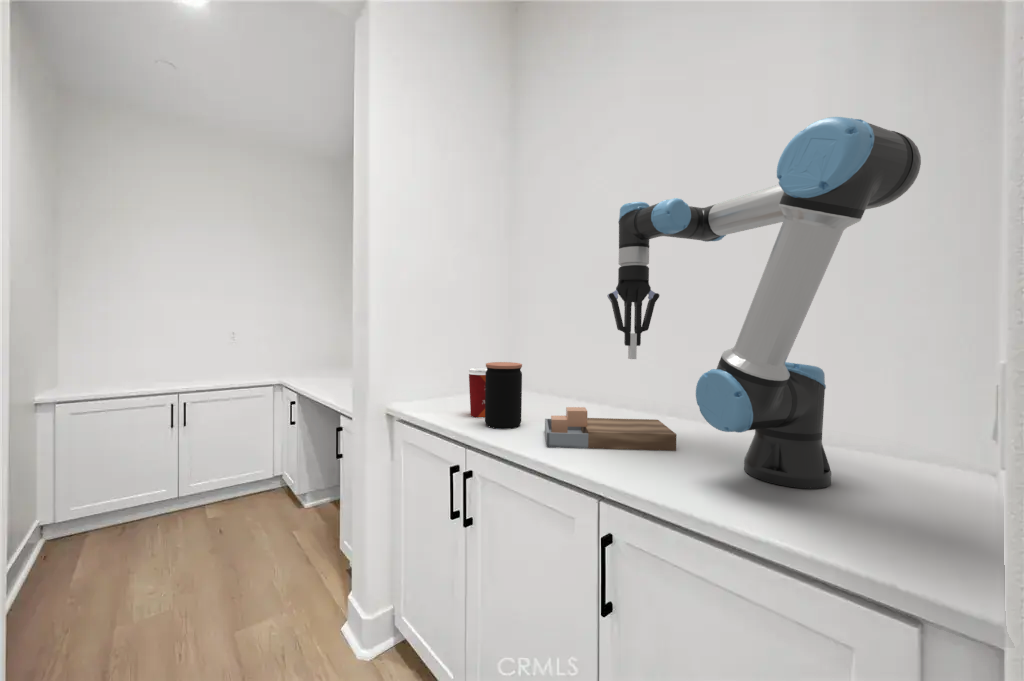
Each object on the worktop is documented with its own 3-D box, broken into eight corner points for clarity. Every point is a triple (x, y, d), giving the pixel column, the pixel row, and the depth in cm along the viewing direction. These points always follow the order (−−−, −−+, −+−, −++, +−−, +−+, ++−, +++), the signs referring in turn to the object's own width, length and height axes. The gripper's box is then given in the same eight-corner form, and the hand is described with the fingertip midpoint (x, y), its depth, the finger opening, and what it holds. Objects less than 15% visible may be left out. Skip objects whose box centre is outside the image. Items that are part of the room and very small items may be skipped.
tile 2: (587, 426, 115) (587, 411, 115) (567, 426, 116) (567, 410, 115) (585, 422, 120) (585, 407, 120) (566, 422, 121) (566, 407, 120)
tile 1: (567, 419, 115) (551, 419, 116) (567, 439, 116) (551, 439, 116) (566, 415, 120) (551, 415, 121) (566, 434, 121) (551, 434, 121)
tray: (588, 448, 110) (588, 434, 110) (546, 447, 111) (547, 433, 110) (580, 432, 126) (581, 419, 126) (544, 431, 126) (544, 418, 126)
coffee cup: (492, 418, 141) (493, 370, 140) (465, 418, 141) (466, 370, 140) (493, 413, 149) (494, 367, 149) (468, 412, 150) (469, 367, 149)
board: (676, 450, 109) (676, 434, 109) (588, 448, 110) (588, 432, 110) (657, 433, 125) (657, 419, 125) (580, 432, 126) (581, 417, 126)
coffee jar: (522, 421, 138) (523, 362, 137) (519, 430, 127) (520, 366, 126) (487, 420, 139) (488, 361, 138) (481, 428, 128) (482, 365, 127)
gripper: (655, 268, 119) (653, 358, 120) (605, 267, 119) (604, 357, 120) (663, 264, 111) (662, 360, 112) (610, 263, 112) (609, 359, 113)
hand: (632, 358), depth 116 cm, fingers closed
